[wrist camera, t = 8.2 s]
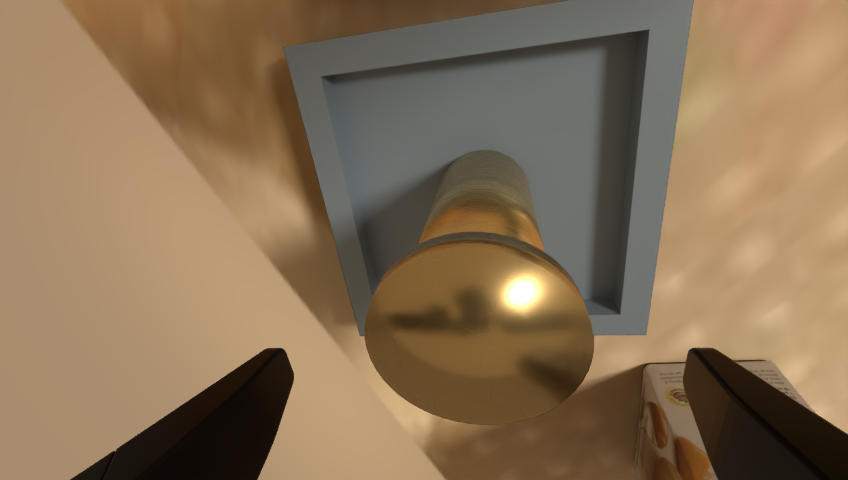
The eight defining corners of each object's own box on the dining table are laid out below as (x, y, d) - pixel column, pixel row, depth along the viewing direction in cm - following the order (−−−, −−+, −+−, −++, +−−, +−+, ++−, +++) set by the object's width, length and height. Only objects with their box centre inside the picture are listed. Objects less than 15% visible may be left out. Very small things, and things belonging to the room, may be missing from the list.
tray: (671, -15, 14) (696, -21, 12) (632, 308, 20) (646, 335, 18) (305, 45, 17) (283, 46, 15) (370, 312, 23) (360, 336, 21)
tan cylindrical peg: (543, 128, 16) (600, 242, 7) (544, 242, 18) (588, 428, 10) (417, 142, 17) (341, 255, 9) (433, 248, 19) (386, 420, 11)
